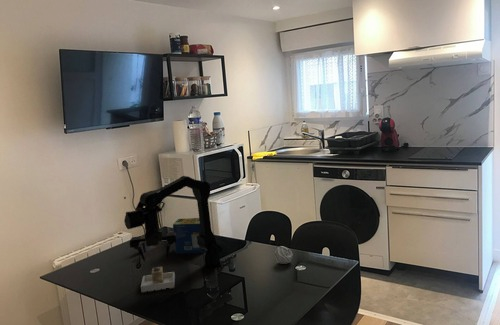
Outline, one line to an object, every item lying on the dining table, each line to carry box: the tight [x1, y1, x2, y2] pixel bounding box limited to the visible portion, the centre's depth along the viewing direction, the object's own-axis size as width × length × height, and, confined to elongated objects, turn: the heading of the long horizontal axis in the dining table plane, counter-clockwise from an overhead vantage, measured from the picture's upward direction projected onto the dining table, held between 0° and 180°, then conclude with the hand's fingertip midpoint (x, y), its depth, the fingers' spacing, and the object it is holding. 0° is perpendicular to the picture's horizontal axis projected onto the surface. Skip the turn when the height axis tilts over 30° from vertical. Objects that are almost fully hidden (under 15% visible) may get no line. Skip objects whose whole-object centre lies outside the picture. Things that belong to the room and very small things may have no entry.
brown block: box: [151, 266, 164, 284], centre depth 178 cm, size 4×6×7 cm, turn 9°
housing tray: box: [140, 271, 176, 293], centre depth 179 cm, size 13×11×2 cm
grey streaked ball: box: [274, 245, 294, 265], centre depth 190 cm, size 8×8×8 cm
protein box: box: [172, 217, 205, 255], centre depth 218 cm, size 10×15×16 cm
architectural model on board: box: [140, 234, 159, 253], centre depth 225 cm, size 11×3×10 cm, turn 150°
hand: (155, 259), depth 177 cm, fingers open, 9 cm apart
